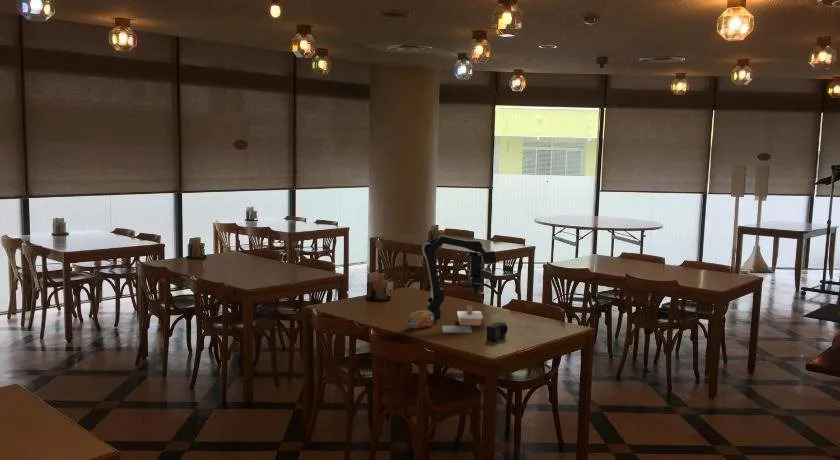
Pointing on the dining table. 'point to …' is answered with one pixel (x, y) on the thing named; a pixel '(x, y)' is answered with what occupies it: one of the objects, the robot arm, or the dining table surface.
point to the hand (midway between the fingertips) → (475, 293)
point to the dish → (470, 322)
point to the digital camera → (496, 331)
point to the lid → (469, 314)
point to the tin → (420, 319)
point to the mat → (457, 329)
